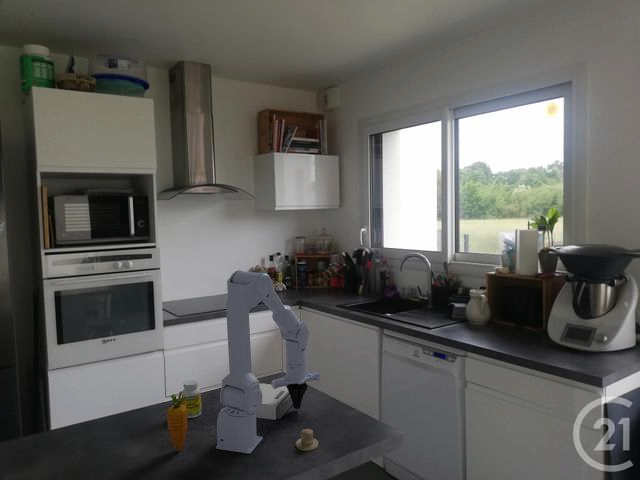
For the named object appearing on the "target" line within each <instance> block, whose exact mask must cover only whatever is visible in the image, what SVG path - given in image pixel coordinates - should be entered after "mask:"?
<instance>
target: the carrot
mask: <svg viewBox="0 0 640 480" xmlns="http://www.w3.org/2000/svg"><path fill="white" fill-rule="evenodd" d="M182 391H183V390H182ZM182 391H181V390H180V391H179V393H178V396H177V395H176V394H175V393H173V394H171V395H170V398H171V399H172V404H173V405H171V406H170V407H169V408H168V409H167V411H166V418H167V420H166V421H167V427H168V428H167V429H168V433H169V436H170V437H169V438H170V440H171V442H172V444H173V446H174V448H175V450H176V451H178V452H180V451H181V450H182V448H183V447H184V443H185V441H186V438H187V432H188V422H189V421H188V419H189V418H188V411H187V408H186V407H185V406H184V405H182V401H183V400H184V399H185V398H187V397H186V396H184V397H182Z"/></svg>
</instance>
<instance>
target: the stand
mask: <svg viewBox="0 0 640 480" xmlns="http://www.w3.org/2000/svg"><path fill="white" fill-rule="evenodd" d="M295 446H296V448H297V449H298V450H299V451H303V452H309V451H315V450H316V449H318V447H319V441H318V440H317V439H316V438H314V431H313V430H312V429H311V428H305V429H302V430H301V431H300V438H299V439H297V440H296V441H295Z"/></svg>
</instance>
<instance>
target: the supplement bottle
mask: <svg viewBox="0 0 640 480" xmlns="http://www.w3.org/2000/svg"><path fill="white" fill-rule="evenodd" d="M198 386H199V381H197V380H195V379H193V380H191V379H190V380H186V381H184V382H183V388H184V389H183V390H182V395H181V398H182V397H184V396H186V397H187V398H185V399H184V400H183V401H182V403H181V405H184V406H185V407H186V408H187V411H188V419H193V418H197V417H199V416H201V415H202V412H203V411H202V394H201V393H202V392H201V389H200V387H198Z"/></svg>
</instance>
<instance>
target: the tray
mask: <svg viewBox="0 0 640 480" xmlns="http://www.w3.org/2000/svg"><path fill="white" fill-rule="evenodd" d="M292 406H293V402H292V399H291V396H290V394H289V395H287V396H286V397H285V398H284V399H283V400H282V401H281V404H280V405H279V406H278V407H277V419H279V420H280V419H281V418H282V417H284V416H285V414H286V413H287V412H288V410H289V409H290V408H291V407H292Z"/></svg>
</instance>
